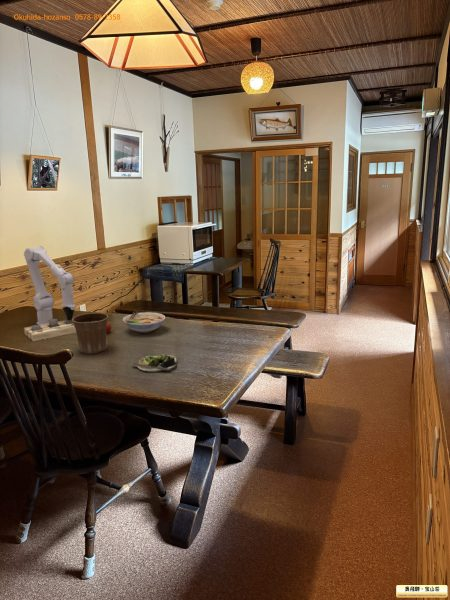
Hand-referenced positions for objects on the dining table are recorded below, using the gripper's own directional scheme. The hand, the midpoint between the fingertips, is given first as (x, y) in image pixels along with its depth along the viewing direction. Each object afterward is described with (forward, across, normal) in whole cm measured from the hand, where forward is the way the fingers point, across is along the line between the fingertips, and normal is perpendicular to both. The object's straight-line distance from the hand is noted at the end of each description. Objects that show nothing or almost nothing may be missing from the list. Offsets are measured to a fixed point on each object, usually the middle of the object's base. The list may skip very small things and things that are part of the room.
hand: (69, 319), depth 239 cm
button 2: (+3, 0, -9) cm, 9 cm away
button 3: (+4, 0, 0) cm, 4 cm away
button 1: (+4, 0, -18) cm, 19 cm away
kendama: (+5, +21, +6) cm, 22 cm away
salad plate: (+6, +77, +10) cm, 78 cm away
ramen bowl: (+5, +30, +30) cm, 42 cm away
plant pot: (+5, +40, -4) cm, 41 cm away
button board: (+5, +2, -9) cm, 10 cm away
